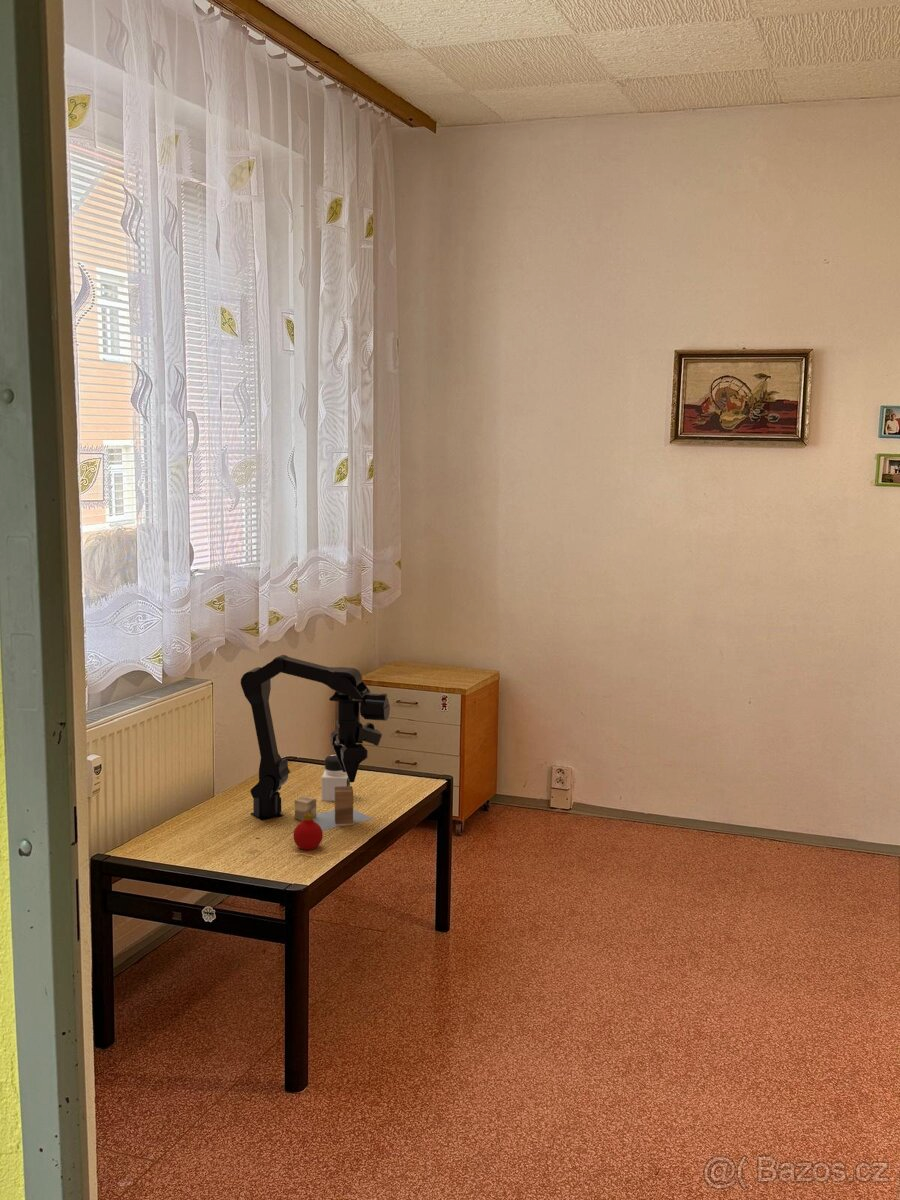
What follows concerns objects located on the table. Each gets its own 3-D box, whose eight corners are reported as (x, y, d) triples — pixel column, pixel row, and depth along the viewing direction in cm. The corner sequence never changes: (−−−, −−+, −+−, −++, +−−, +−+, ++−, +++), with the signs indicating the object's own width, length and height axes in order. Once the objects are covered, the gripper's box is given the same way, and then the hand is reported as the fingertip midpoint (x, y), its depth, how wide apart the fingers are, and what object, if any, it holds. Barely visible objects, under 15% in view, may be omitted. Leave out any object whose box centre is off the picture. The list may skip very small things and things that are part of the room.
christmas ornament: (308, 856, 272) (308, 816, 271) (287, 850, 276) (287, 810, 275) (328, 848, 278) (328, 809, 276) (307, 842, 282) (307, 803, 281)
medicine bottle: (347, 802, 313) (347, 760, 311) (321, 802, 313) (321, 759, 311) (350, 794, 320) (350, 753, 318) (324, 794, 320) (324, 752, 318)
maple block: (306, 821, 296) (306, 802, 295) (294, 818, 298) (294, 800, 297) (316, 817, 299) (316, 798, 298) (304, 814, 301) (304, 796, 300)
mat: (321, 832, 289) (321, 830, 289) (297, 819, 298) (297, 818, 298) (373, 820, 299) (373, 818, 299) (347, 808, 308) (348, 806, 308)
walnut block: (353, 825, 293) (353, 791, 292) (335, 825, 293) (335, 792, 291) (351, 819, 298) (352, 786, 297) (334, 819, 297) (334, 786, 296)
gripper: (387, 725, 285) (387, 785, 287) (371, 707, 303) (371, 764, 305) (343, 727, 282) (343, 788, 284) (330, 710, 300) (330, 767, 302)
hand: (348, 776), depth 294 cm, fingers open, 9 cm apart
